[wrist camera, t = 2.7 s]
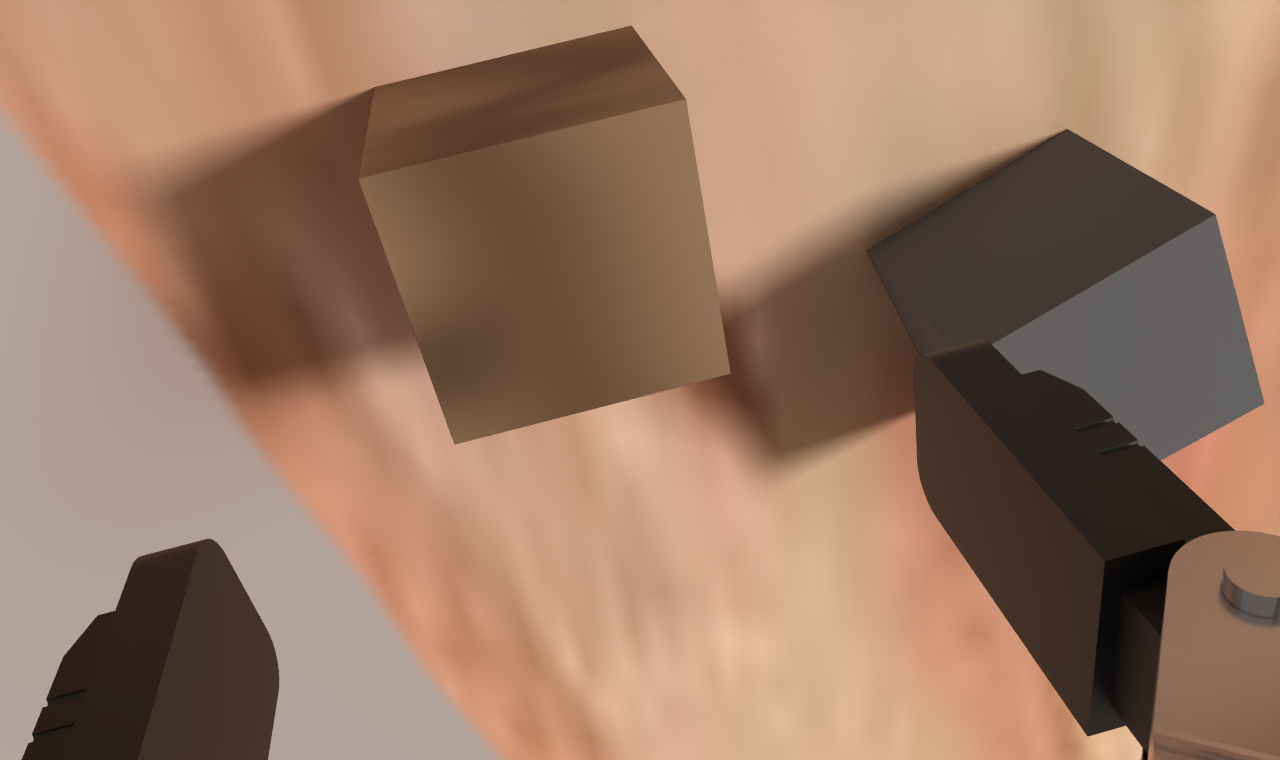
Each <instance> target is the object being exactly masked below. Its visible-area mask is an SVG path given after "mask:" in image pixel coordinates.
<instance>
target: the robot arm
mask: <svg viewBox="0 0 1280 760" xmlns="http://www.w3.org/2000/svg"><path fill="white" fill-rule="evenodd" d="M914 388H915V414H916V441H917V463H918V471H919V476H920V480H921V484H922V487H923V490H924V493H925V496H926V498H927V501H928V503H929V505H930V507H931V509H932V511H933V513H934V514H935V516H936V517H937V519H938V520H939V522H940V523H941V525H942V526H943V528H944V529H945V531H946V532H947V533H948V535H949V536H950V538H951V539H952V541H953V542H954V544H955V545H956V546H957V548H958V549H959V551H960V552H961V554H962V555H963V557H964V558H965V560H966V561H967V562H968V564H969V565H970V567H971V568H972V570H973V571H974V573H975V574H976V575H977V577H978V578H979V580H980V581H981V583H982V584H983V586H984V587H985V588H986V590H987V591H988V593H989V594H990V596H991V597H992V599H993V600H994V602H995V603H996V604H997V606H998V607H999V609H1000V610H1001V612H1002V613H1003V615H1004V616H1005V617H1006V619H1007V620H1008V622H1009V623H1010V625H1011V626H1012V628H1013V629H1014V631H1015V632H1016V633H1017V635H1018V636H1019V638H1020V639H1021V641H1022V642H1023V644H1024V645H1025V646H1026V648H1027V649H1028V651H1029V652H1030V654H1031V655H1032V657H1033V658H1034V660H1035V661H1036V662H1037V664H1038V665H1039V667H1040V668H1041V670H1042V671H1043V673H1044V674H1045V675H1046V677H1047V678H1048V680H1049V681H1050V683H1051V684H1052V686H1053V687H1054V688H1055V690H1056V691H1057V693H1058V694H1059V696H1060V697H1061V699H1062V700H1063V702H1064V703H1065V704H1066V706H1067V707H1068V709H1069V710H1070V712H1071V713H1072V715H1073V716H1074V717H1075V719H1076V720H1077V722H1078V723H1079V725H1080V726H1081V728H1082V729H1083V731H1084V732H1085V733H1086V735H1087V736H1091V735H1095V734H1098V733H1102V732H1105V731H1109V730H1112V729H1116V728H1119V727H1123V726H1127V727H1128V728H1129V730H1130V731H1131V733H1132V734H1133V735H1134V737H1135V738H1136V739H1137V741H1138V742H1139V743H1140V745H1141V746H1142V747H1143V748H1142V755H1141V760H1280V537H1279V536H1276V535H1271V534H1266V533H1261V532H1252V531H1235V530H1234V529H1233V528H1232V527H1231V526H1230V525H1229V524H1228V523H1227V522H1225V521H1224V520H1223V519H1222V518H1221V517H1220V516H1219V515H1218V514H1217V513H1216V512H1215V511H1214V510H1213V509H1212V508H1210V507H1209V506H1208V505H1207V504H1206V503H1205V502H1204V501H1203V500H1202V499H1201V498H1200V497H1199V496H1198V495H1197V494H1195V493H1194V492H1193V491H1192V490H1191V489H1190V488H1189V487H1188V486H1187V485H1186V484H1185V483H1184V482H1183V481H1182V480H1180V479H1179V478H1178V477H1177V476H1176V475H1175V474H1174V473H1173V472H1172V471H1171V470H1170V469H1169V468H1168V467H1167V466H1165V465H1164V464H1163V463H1162V462H1161V461H1160V460H1159V459H1158V458H1157V457H1156V456H1155V455H1154V454H1153V453H1152V452H1150V451H1149V450H1148V449H1147V448H1146V447H1145V446H1139V444H1138V439H1137V438H1135V437H1134V436H1133V435H1132V434H1131V433H1130V432H1129V431H1128V430H1127V429H1126V428H1125V427H1124V426H1123V425H1122V424H1120V423H1119V422H1118V423H1115V422H1114V419H1113V416H1112V415H1111V414H1110V413H1109V412H1108V411H1107V410H1105V409H1104V408H1103V407H1102V406H1101V405H1100V404H1099V403H1098V402H1097V401H1096V400H1095V399H1094V398H1093V397H1092V396H1090V395H1089V394H1088V393H1087V392H1086V391H1085V390H1084V389H1082V388H1080V387H1078V386H1076V385H1073V384H1071V383H1069V382H1067V381H1064V380H1062V379H1060V378H1058V377H1056V376H1053V375H1051V374H1049V373H1047V372H1044V371H1042V370H1038V371H1034V372H1030V373H1026V374H1021V373H1020V372H1019V371H1018V370H1017V369H1016V368H1015V367H1014V366H1013V365H1012V364H1011V363H1010V362H1009V361H1008V360H1007V359H1006V358H1005V357H1004V356H1003V355H1002V354H1001V353H1000V352H999V351H998V350H997V349H996V348H995V347H994V346H993V345H991V344H990V343H989V342H987V341H986V340H978V341H974V342H971V343H967V344H963V345H959V346H955V347H951V348H947V349H944V350H940V351H936V352H932V353H928V354H924V355H921V356H919V357H918V358H917V360H916V362H915V367H914ZM278 691H279V670H278V662H277V657H276V653H275V649H274V645H273V642H272V640H271V637H270V635H269V633H268V631H267V629H266V627H265V625H264V623H263V622H262V620H261V618H260V616H259V614H258V612H257V611H256V609H255V607H254V605H253V604H252V602H251V600H250V598H249V596H248V594H247V592H246V591H245V589H244V587H243V585H242V583H241V582H240V580H239V578H238V576H237V574H236V572H235V571H234V569H233V567H232V565H231V563H230V562H229V560H228V558H227V556H226V554H225V553H224V551H223V549H222V548H221V547H220V546H219V545H218V544H217V543H216V542H215V541H214V540H212V539H205V540H202V541H198V542H194V543H190V544H186V545H182V546H179V547H175V548H171V549H167V550H163V551H159V552H156V553H152V554H148V555H144V556H140V557H139V558H137V559H136V560H135V562H134V563H133V565H132V567H131V570H130V572H129V575H128V578H127V581H126V583H125V586H124V589H123V591H122V594H121V598H120V600H119V602H118V605H117V608H116V611H113V612H109V613H105V614H101V615H98V616H97V617H96V618H95V619H94V621H93V622H92V623H91V624H90V625H89V626H88V628H87V629H86V630H85V631H84V633H83V634H82V635H81V636H80V637H79V639H78V640H77V641H76V642H75V643H74V645H73V646H72V647H71V648H70V649H69V651H68V652H67V653H66V654H65V656H64V657H63V659H62V662H61V664H60V666H59V669H58V671H57V674H56V676H55V679H54V681H53V684H52V687H51V689H50V691H49V694H48V696H47V702H48V706H47V707H43V709H42V711H41V713H40V716H39V718H38V721H37V723H36V726H35V728H34V731H33V733H32V735H33V738H34V740H33V742H31V743H28V746H27V748H26V750H25V753H24V755H23V758H22V760H268V755H269V749H270V743H271V736H272V730H273V724H274V716H275V710H276V704H277V698H278Z"/></svg>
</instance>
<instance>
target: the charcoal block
mask: <svg viewBox="0 0 1280 760" xmlns="http://www.w3.org/2000/svg"><path fill="white" fill-rule="evenodd" d="M867 253H868V255H869V257H870V259H871V261H872V263H873V265H874V267H875V269H876V271H877V273H878V275H879V277H880V279H881V281H882V283H883V285H884V287H885V289H886V291H887V293H888V295H889V296H890V298H891V300H892V302H893V304H894V306H895V308H896V310H897V312H898V314H899V316H900V318H901V320H902V322H903V324H904V326H905V328H906V330H907V332H908V334H909V336H910V338H911V339H912V341H913V343H914V345H915V347H916V349H917V351H918V353H919V355H920V356H921V355H924V354H928V353H932V352H936V351H940V350H944V349H947V348H951V347H955V346H959V345H963V344H967V343H971V342H974V341H978V340H986V341H987V342H989V343H990V344H991V345H993V346H994V347H995V348H996V349H997V350H998V351H999V352H1000V353H1001V354H1002V355H1003V356H1004V357H1005V358H1006V359H1007V360H1008V361H1009V362H1010V363H1011V364H1012V365H1013V366H1014V367H1015V368H1016V369H1017V370H1018V371H1019V372H1020V373H1021V374H1026V373H1030V372H1034V371H1038V370H1042V371H1044V372H1047V373H1049V374H1051V375H1053V376H1056V377H1058V378H1060V379H1062V380H1064V381H1067V382H1069V383H1071V384H1073V385H1076V386H1078V387H1080V388H1082V389H1084V390H1085V391H1086V392H1087V393H1088V394H1089V395H1090V396H1092V397H1093V398H1094V399H1095V400H1096V401H1097V402H1098V403H1099V404H1100V405H1101V406H1102V407H1103V408H1104V409H1105V410H1107V411H1108V412H1109V413H1110V414H1111V415H1112V416H1113V419H1114V422H1115V423H1118V422H1119V423H1120V424H1122V425H1123V426H1124V427H1125V428H1126V429H1127V430H1128V431H1129V432H1130V433H1131V434H1132V435H1133V436H1134V437H1135V438H1137V439H1138V444H1139V446H1145V447H1146V448H1147V449H1148V450H1149V451H1150V452H1152V453H1153V454H1154V455H1155V456H1156V457H1157V458H1158V459H1159V460H1160V461H1161V460H1163V459H1164V458H1166V457H1168V456H1170V455H1172V454H1173V453H1175V452H1177V451H1179V450H1181V449H1183V448H1184V447H1186V446H1188V445H1190V444H1192V443H1193V442H1195V441H1197V440H1199V439H1201V438H1203V437H1204V436H1206V435H1208V434H1210V433H1212V432H1214V431H1215V430H1217V429H1219V428H1221V427H1223V426H1224V425H1226V424H1228V423H1230V422H1232V421H1234V420H1235V419H1237V418H1239V417H1241V416H1243V415H1244V414H1246V413H1248V412H1250V411H1252V410H1254V409H1255V408H1257V407H1259V406H1261V405H1263V404H1264V400H1263V396H1262V392H1261V388H1260V385H1259V381H1258V377H1257V373H1256V369H1255V365H1254V361H1253V358H1252V354H1251V350H1250V346H1249V342H1248V338H1247V334H1246V330H1245V327H1244V323H1243V319H1242V315H1241V311H1240V307H1239V303H1238V300H1237V296H1236V292H1235V288H1234V284H1233V280H1232V276H1231V273H1230V269H1229V265H1228V261H1227V257H1226V253H1225V249H1224V246H1223V242H1222V238H1221V234H1220V230H1219V226H1218V222H1217V219H1216V215H1215V214H1214V213H1212V212H1210V211H1209V210H1207V209H1205V208H1204V207H1202V206H1200V205H1198V204H1197V203H1195V202H1193V201H1191V200H1190V199H1188V198H1186V197H1184V196H1183V195H1181V194H1179V193H1177V192H1176V191H1174V190H1172V189H1171V188H1169V187H1167V186H1165V185H1164V184H1162V183H1160V182H1158V181H1157V180H1155V179H1153V178H1151V177H1150V176H1148V175H1146V174H1144V173H1143V172H1141V171H1139V170H1138V169H1136V168H1134V167H1132V166H1131V165H1129V164H1127V163H1125V162H1124V161H1122V160H1120V159H1118V158H1117V157H1115V156H1113V155H1111V154H1110V153H1108V152H1106V151H1105V150H1103V149H1101V148H1099V147H1098V146H1096V145H1094V144H1092V143H1091V142H1089V141H1087V140H1085V139H1084V138H1082V137H1080V136H1078V135H1077V134H1075V133H1073V132H1072V131H1070V130H1068V129H1067V130H1065V131H1063V132H1062V133H1060V134H1058V135H1057V136H1055V137H1053V138H1052V139H1050V140H1048V141H1047V142H1045V143H1043V144H1042V145H1040V146H1038V147H1037V148H1035V149H1034V150H1032V151H1030V152H1029V153H1027V154H1025V155H1024V156H1022V157H1020V158H1019V159H1017V160H1015V161H1014V162H1012V163H1010V164H1009V165H1007V166H1005V167H1004V168H1002V169H1001V170H999V171H997V172H996V173H994V174H992V175H991V176H989V177H987V178H986V179H984V180H982V181H981V182H979V183H977V184H976V185H974V186H972V187H971V188H969V189H968V190H966V191H964V192H963V193H961V194H959V195H958V196H956V197H954V198H953V199H951V200H949V201H948V202H946V203H944V204H943V205H941V206H940V207H938V208H936V209H935V210H933V211H931V212H930V213H928V214H926V215H925V216H923V217H921V218H920V219H918V220H916V221H915V222H913V223H911V224H910V225H908V226H907V227H905V228H903V229H902V230H900V231H898V232H897V233H895V234H893V235H892V236H890V237H888V238H887V239H885V240H883V241H882V242H880V243H878V244H877V245H875V246H874V247H872V248H870V249H869V250H867Z"/></svg>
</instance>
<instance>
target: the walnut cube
mask: <svg viewBox="0 0 1280 760" xmlns="http://www.w3.org/2000/svg"><path fill="white" fill-rule="evenodd" d="M358 180H359V183H360V185H361V188H362V191H363V194H364V196H365V199H366V202H367V205H368V207H369V210H370V213H371V216H372V218H373V221H374V224H375V227H376V230H377V232H378V235H379V238H380V241H381V243H382V246H383V249H384V252H385V254H386V257H387V260H388V263H389V265H390V268H391V271H392V274H393V276H394V279H395V282H396V285H397V287H398V290H399V293H400V296H401V298H402V301H403V304H404V307H405V309H406V312H407V315H408V318H409V320H410V323H411V326H412V329H413V331H414V334H415V337H416V340H417V342H418V345H419V348H420V351H421V353H422V356H423V359H424V362H425V364H426V367H427V370H428V373H429V375H430V378H431V381H432V384H433V386H434V389H435V392H436V395H437V397H438V400H439V403H440V406H441V409H442V411H443V414H444V417H445V420H446V422H447V425H448V428H449V431H450V433H451V436H452V439H453V442H454V444H459V443H463V442H466V441H470V440H474V439H478V438H482V437H486V436H490V435H494V434H498V433H502V432H505V431H509V430H513V429H517V428H521V427H525V426H529V425H533V424H537V423H541V422H544V421H548V420H552V419H556V418H560V417H564V416H568V415H572V414H576V413H580V412H583V411H587V410H591V409H595V408H599V407H603V406H607V405H611V404H615V403H618V402H622V401H626V400H630V399H634V398H638V397H642V396H646V395H650V394H654V393H657V392H661V391H665V390H669V389H673V388H677V387H681V386H685V385H689V384H693V383H696V382H700V381H704V380H708V379H712V378H716V377H720V376H724V375H728V374H731V372H730V366H729V360H728V354H727V348H726V342H725V336H724V329H723V323H722V317H721V311H720V305H719V299H718V293H717V287H716V281H715V274H714V268H713V262H712V256H711V250H710V244H709V238H708V232H707V226H706V219H705V213H704V207H703V201H702V195H701V189H700V183H699V177H698V171H697V164H696V158H695V152H694V146H693V140H692V134H691V128H690V122H689V116H688V109H687V103H686V99H685V97H684V96H683V95H682V93H681V92H680V91H679V89H678V88H677V86H676V85H675V84H674V82H673V81H672V80H671V78H670V77H669V76H668V74H667V73H666V72H665V70H664V69H663V68H662V66H661V65H660V64H659V62H658V61H657V59H656V58H655V57H654V55H653V54H652V53H651V51H650V50H649V49H648V47H647V46H646V45H645V43H644V42H643V41H642V39H641V38H640V36H639V35H638V34H637V32H636V31H635V30H634V28H633V27H632V26H628V27H624V28H620V29H616V30H612V31H607V32H603V33H599V34H595V35H591V36H587V37H582V38H578V39H574V40H570V41H566V42H562V43H557V44H553V45H549V46H545V47H541V48H536V49H532V50H528V51H524V52H520V53H516V54H511V55H507V56H503V57H499V58H495V59H491V60H486V61H482V62H478V63H474V64H470V65H466V66H461V67H457V68H453V69H449V70H445V71H441V72H436V73H432V74H428V75H424V76H420V77H416V78H411V79H407V80H403V81H399V82H395V83H391V84H386V85H382V86H378V87H375V88H374V93H373V99H372V104H371V110H370V116H369V121H368V127H367V132H366V138H365V143H364V149H363V154H362V160H361V165H360V171H359V176H358Z"/></svg>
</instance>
